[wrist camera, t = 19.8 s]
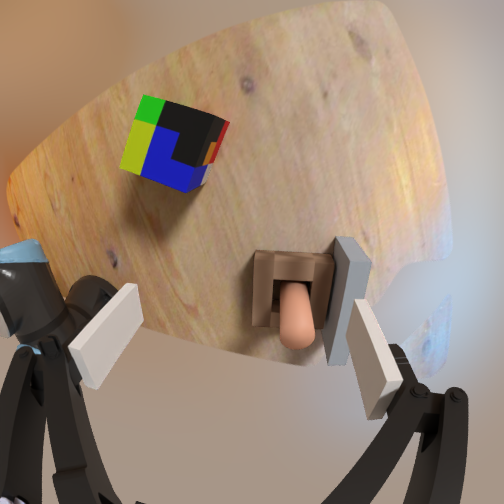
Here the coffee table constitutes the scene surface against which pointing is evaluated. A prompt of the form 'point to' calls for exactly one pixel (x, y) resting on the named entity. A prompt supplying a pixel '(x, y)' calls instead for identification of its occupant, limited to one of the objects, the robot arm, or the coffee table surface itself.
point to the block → (290, 268)
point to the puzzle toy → (173, 143)
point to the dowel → (295, 315)
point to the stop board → (344, 296)
